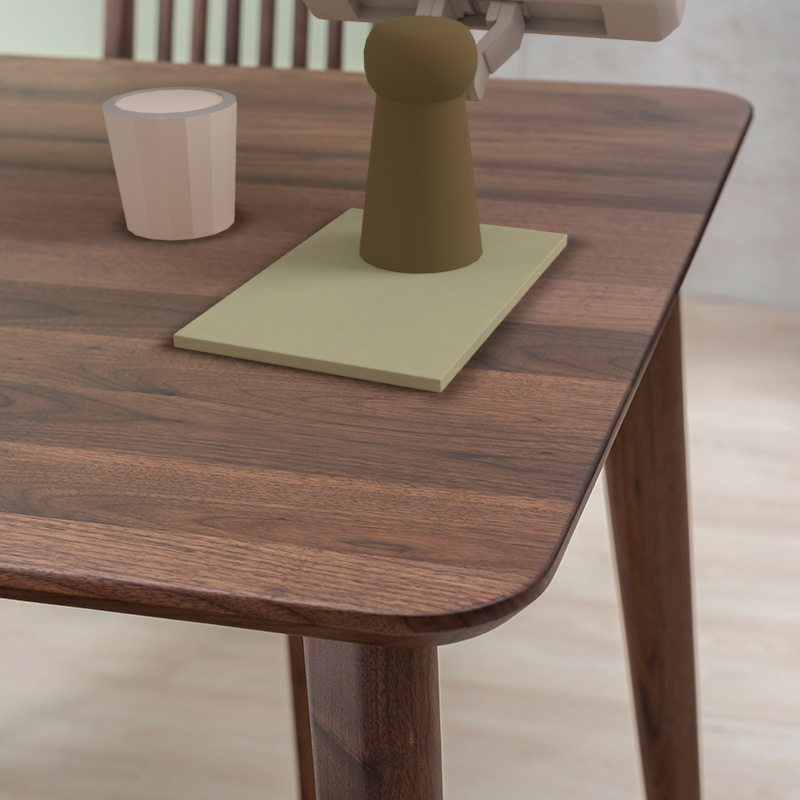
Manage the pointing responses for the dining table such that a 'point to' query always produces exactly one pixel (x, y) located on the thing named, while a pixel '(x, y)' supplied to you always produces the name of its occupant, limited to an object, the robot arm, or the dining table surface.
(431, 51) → the cork
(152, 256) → the dining table surface
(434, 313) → the mat
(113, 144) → the pale pink cup
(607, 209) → the dining table surface
